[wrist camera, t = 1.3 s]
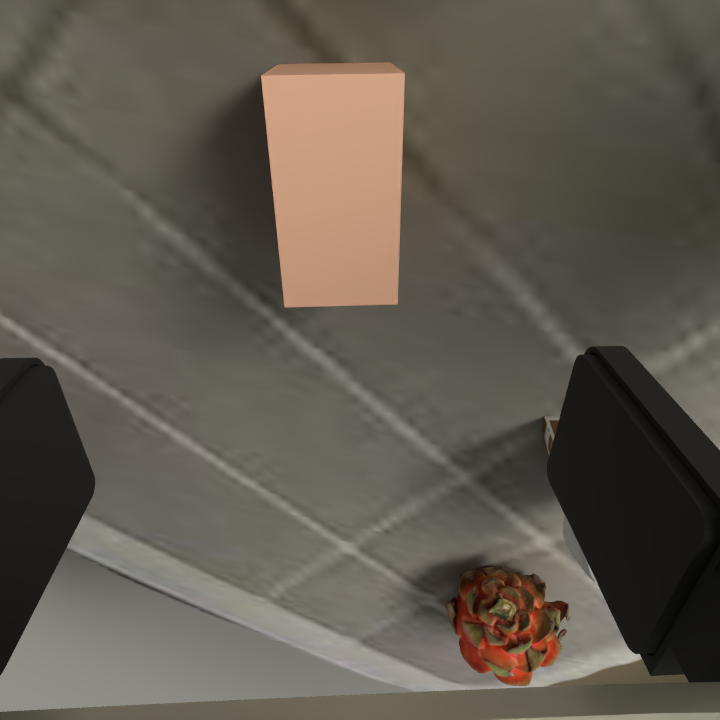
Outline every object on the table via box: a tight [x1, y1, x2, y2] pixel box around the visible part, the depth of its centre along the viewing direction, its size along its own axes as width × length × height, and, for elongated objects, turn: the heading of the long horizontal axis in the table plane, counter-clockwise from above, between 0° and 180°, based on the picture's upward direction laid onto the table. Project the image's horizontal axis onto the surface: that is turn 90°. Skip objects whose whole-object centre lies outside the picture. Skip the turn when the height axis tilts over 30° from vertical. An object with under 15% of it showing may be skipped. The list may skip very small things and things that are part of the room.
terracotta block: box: [261, 62, 405, 307], centre depth 23 cm, size 5×9×6 cm, turn 1°
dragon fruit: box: [446, 567, 571, 686], centre depth 42 cm, size 8×8×12 cm
